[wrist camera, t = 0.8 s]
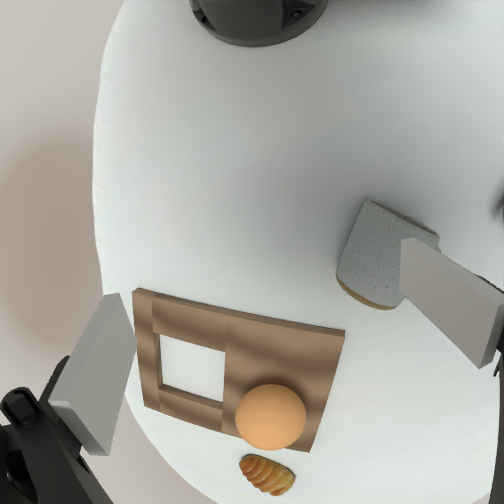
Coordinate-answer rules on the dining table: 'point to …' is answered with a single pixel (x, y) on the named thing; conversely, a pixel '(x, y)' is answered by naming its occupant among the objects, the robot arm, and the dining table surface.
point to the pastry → (267, 474)
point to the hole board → (235, 360)
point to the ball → (270, 417)
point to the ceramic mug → (378, 254)
